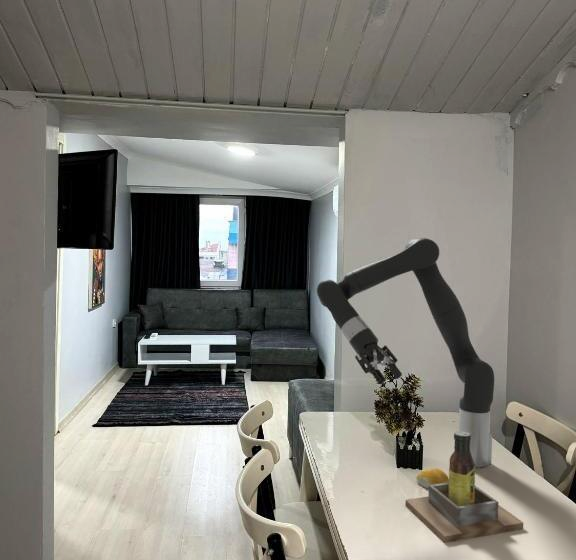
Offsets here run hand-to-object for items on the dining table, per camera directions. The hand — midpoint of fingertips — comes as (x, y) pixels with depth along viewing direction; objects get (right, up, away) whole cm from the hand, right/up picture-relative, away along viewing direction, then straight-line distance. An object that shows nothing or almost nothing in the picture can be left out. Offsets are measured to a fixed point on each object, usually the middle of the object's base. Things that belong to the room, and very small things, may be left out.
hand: (391, 379), depth 146 cm
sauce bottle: (+14, -30, -15) cm, 37 cm away
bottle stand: (+15, -32, -15) cm, 38 cm away
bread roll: (+13, -31, +3) cm, 34 cm away
